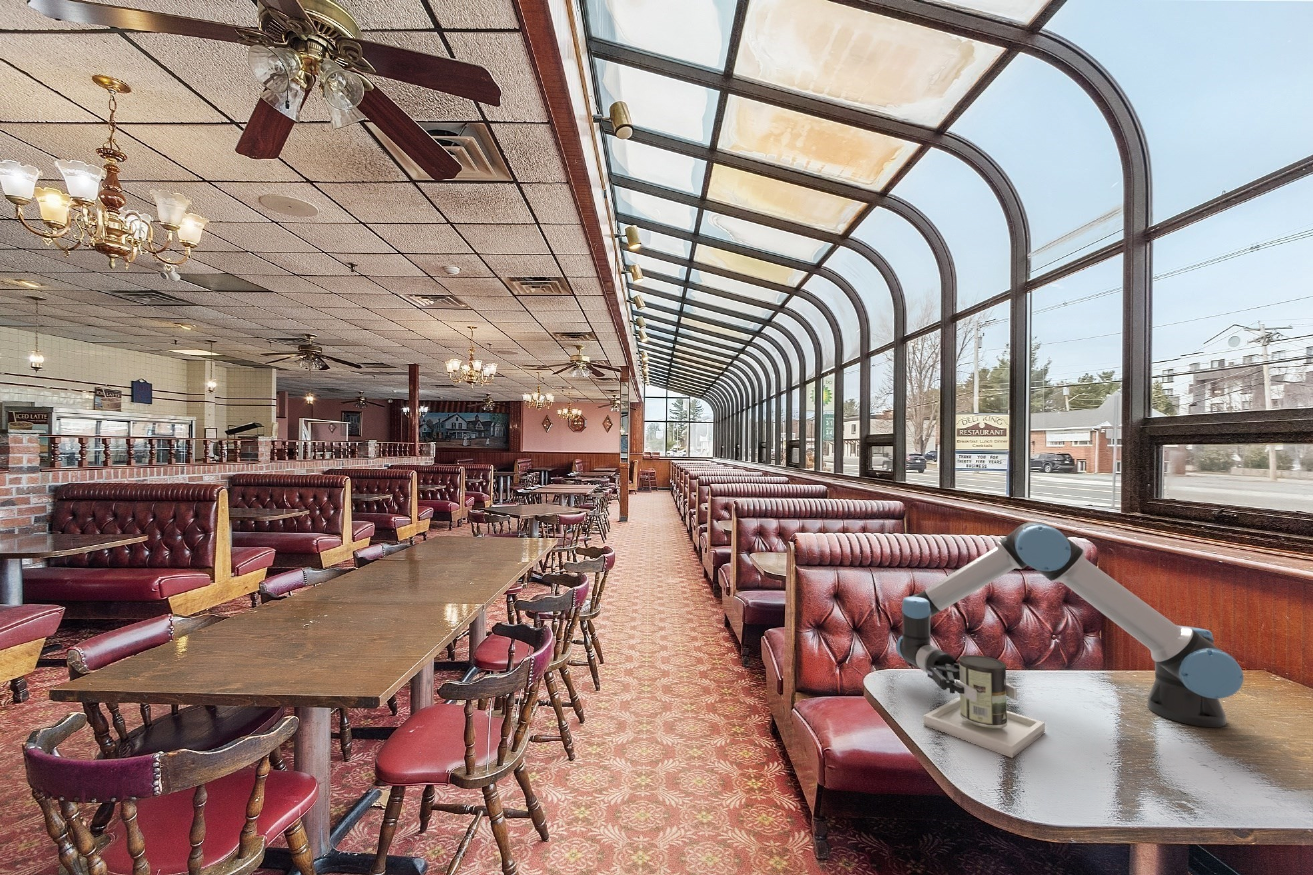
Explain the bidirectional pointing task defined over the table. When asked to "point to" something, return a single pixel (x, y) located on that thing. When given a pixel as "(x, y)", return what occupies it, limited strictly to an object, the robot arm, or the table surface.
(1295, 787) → the table surface
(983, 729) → the serving tray
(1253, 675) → the table surface
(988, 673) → the coffee can
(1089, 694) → the table surface
